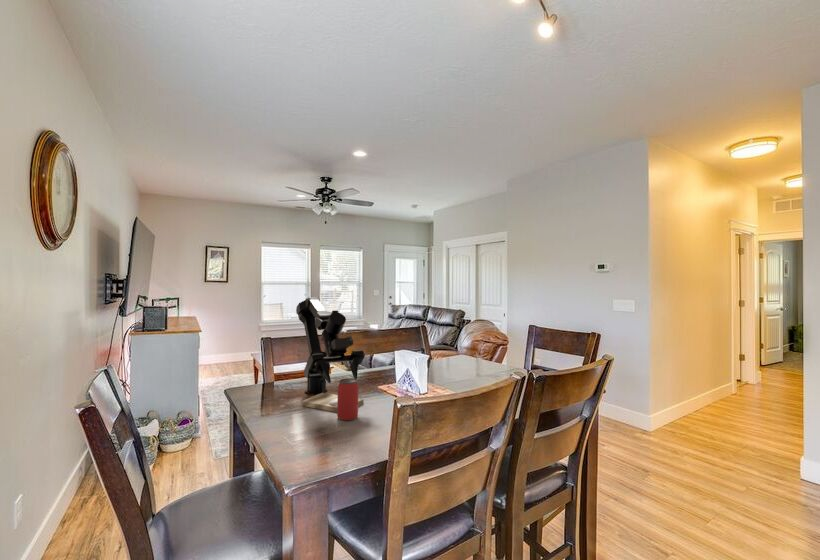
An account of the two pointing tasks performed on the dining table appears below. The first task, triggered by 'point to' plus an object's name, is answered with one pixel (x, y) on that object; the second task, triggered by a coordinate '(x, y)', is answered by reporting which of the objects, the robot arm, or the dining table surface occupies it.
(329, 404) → the birch board
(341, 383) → the beer can
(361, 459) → the dining table surface
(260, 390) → the dining table surface
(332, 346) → the robot arm
